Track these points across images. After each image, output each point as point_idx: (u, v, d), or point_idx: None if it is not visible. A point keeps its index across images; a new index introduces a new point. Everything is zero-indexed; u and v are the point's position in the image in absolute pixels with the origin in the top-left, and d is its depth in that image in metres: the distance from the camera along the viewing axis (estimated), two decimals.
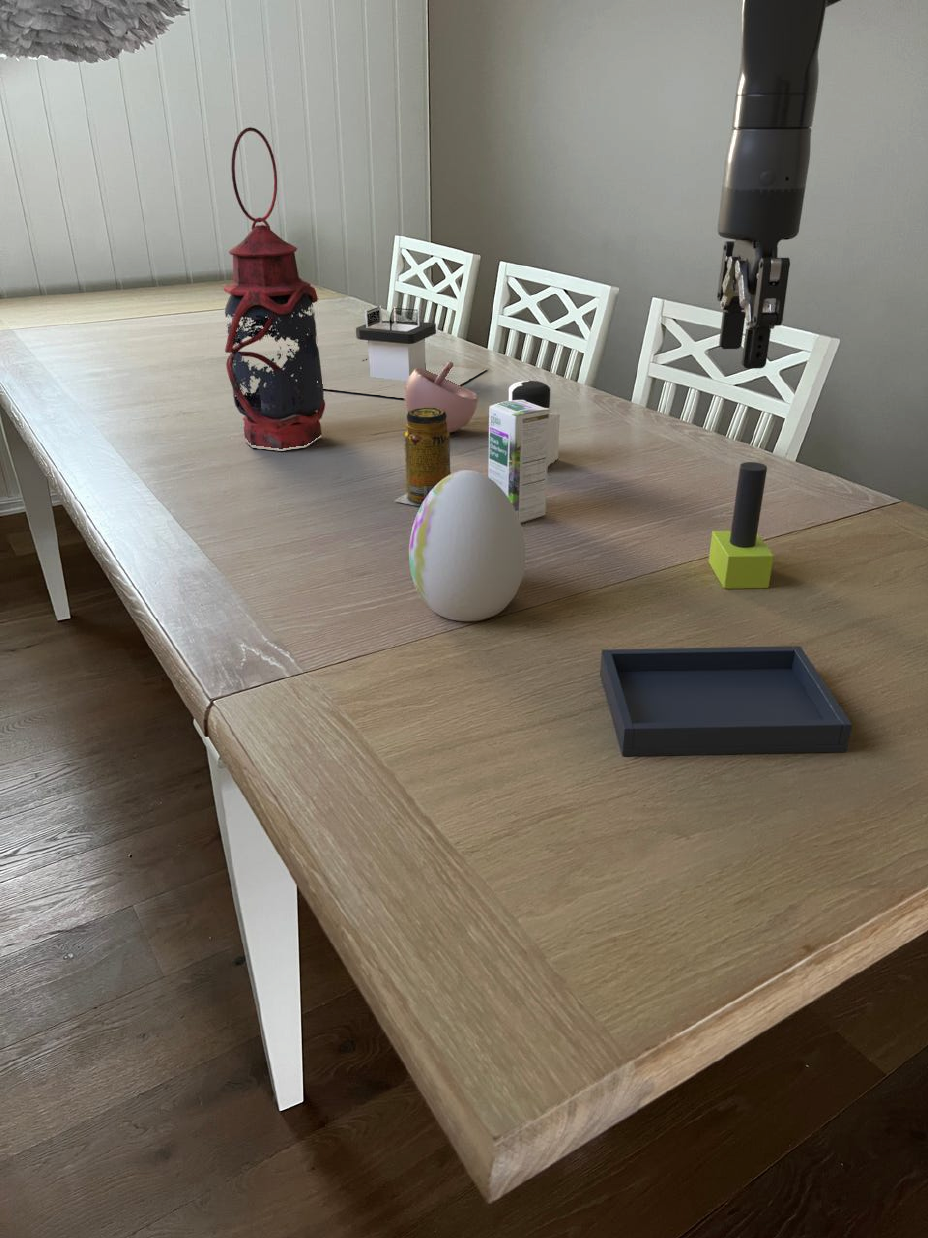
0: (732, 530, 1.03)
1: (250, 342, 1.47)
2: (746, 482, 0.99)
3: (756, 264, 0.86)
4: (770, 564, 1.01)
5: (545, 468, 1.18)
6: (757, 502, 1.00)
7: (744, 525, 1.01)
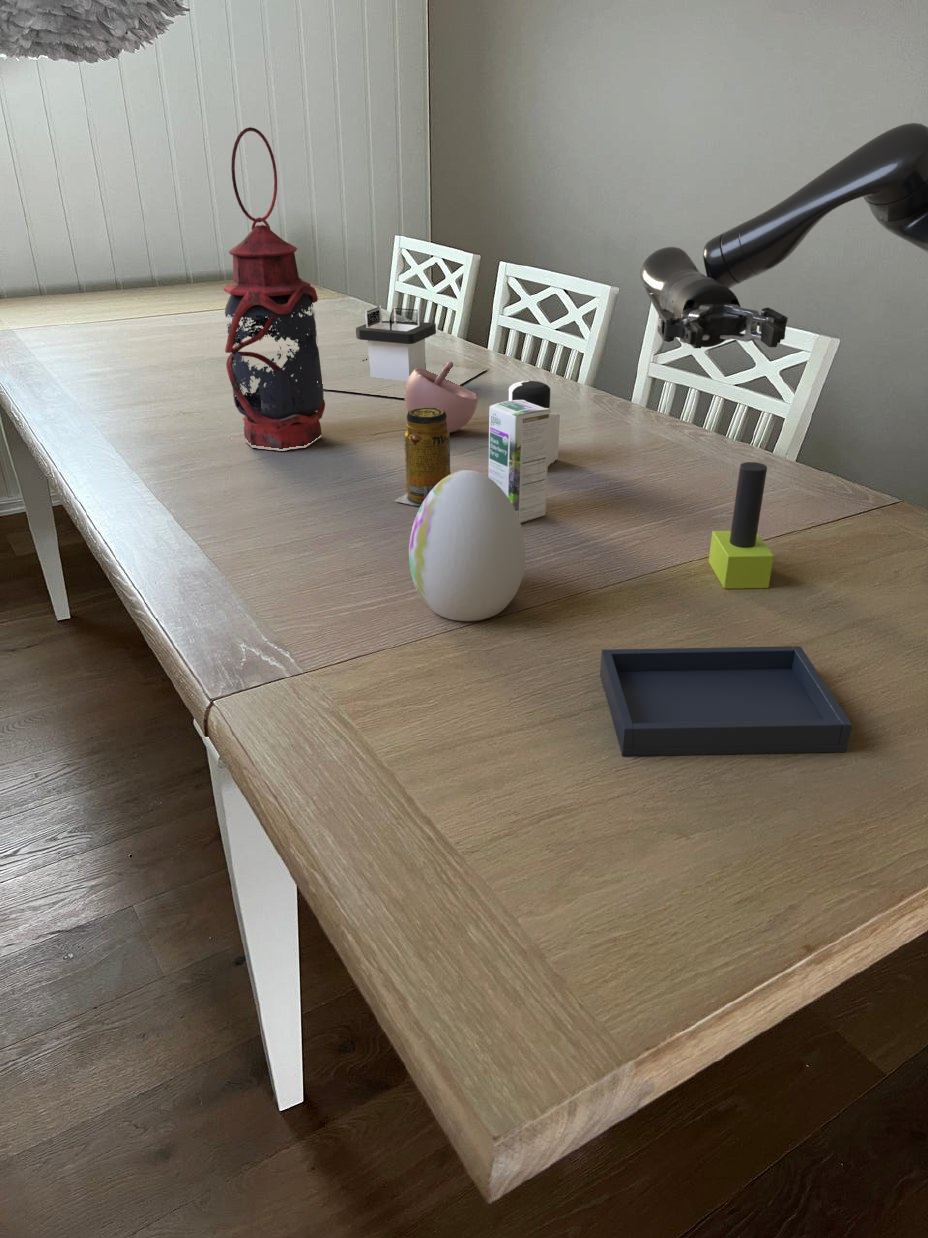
0: (732, 530, 1.03)
1: (250, 342, 1.47)
2: (746, 482, 0.99)
3: None
4: (770, 564, 1.01)
5: (545, 468, 1.18)
6: (757, 502, 1.00)
7: (744, 525, 1.01)
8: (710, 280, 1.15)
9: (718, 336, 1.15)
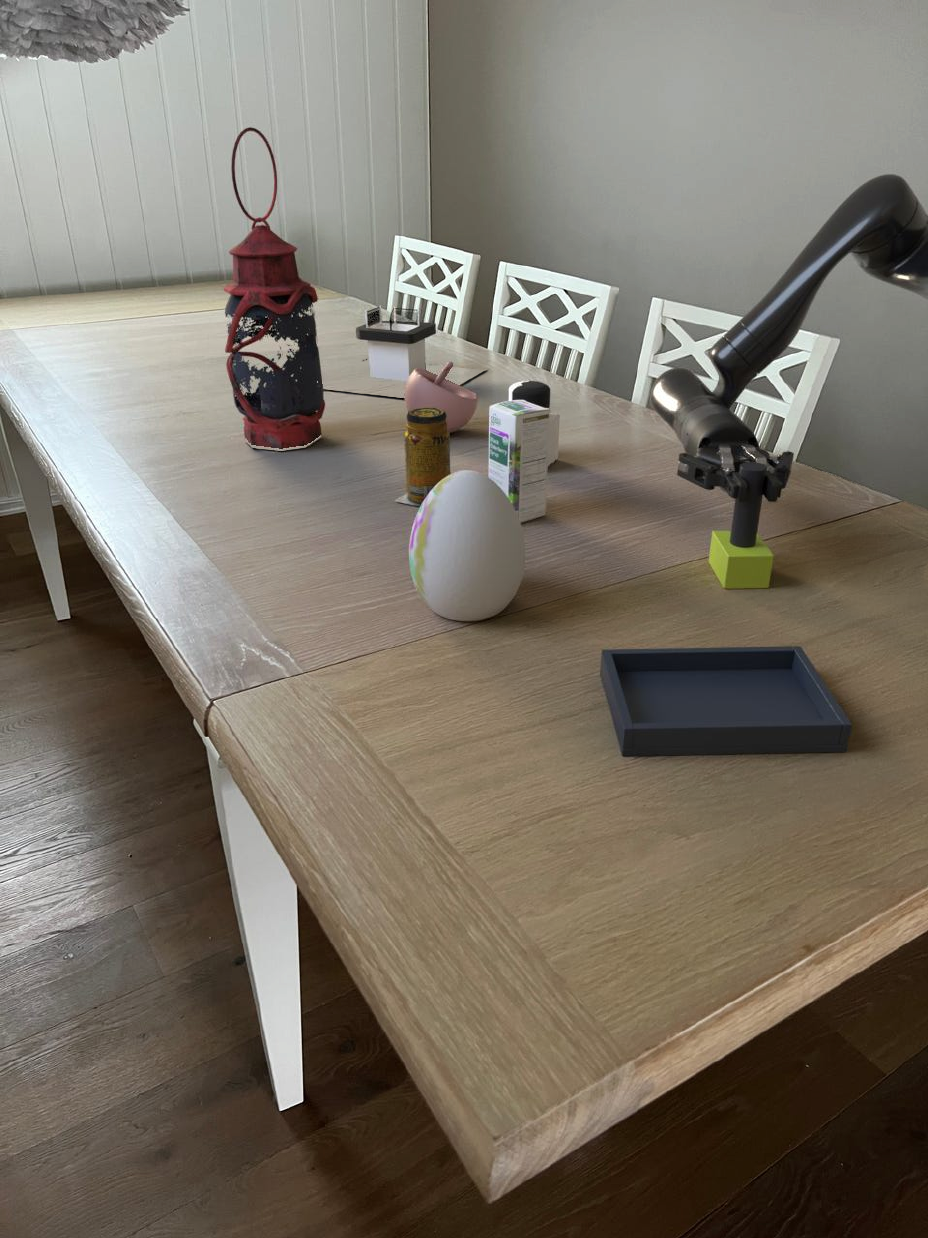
0: (732, 530, 1.03)
1: (250, 342, 1.47)
2: (746, 482, 0.99)
3: None
4: (770, 564, 1.01)
5: (545, 468, 1.18)
6: (757, 502, 1.00)
7: (744, 525, 1.01)
8: (727, 415, 1.10)
9: None
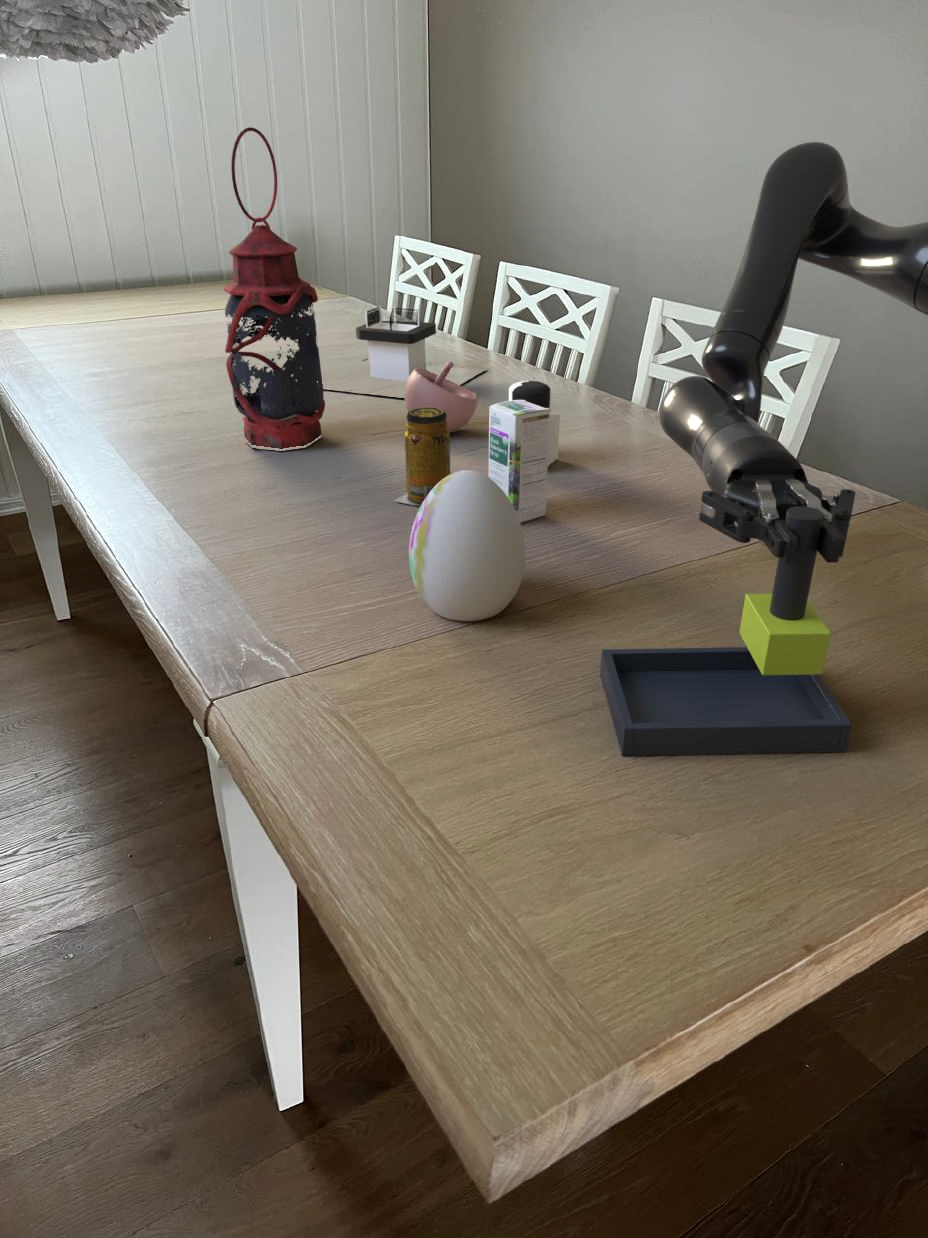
0: (774, 596, 0.76)
1: (250, 342, 1.47)
2: (796, 534, 0.73)
3: None
4: (826, 644, 0.75)
5: (545, 468, 1.18)
6: (809, 561, 0.74)
7: (791, 591, 0.75)
8: (764, 439, 0.83)
9: None
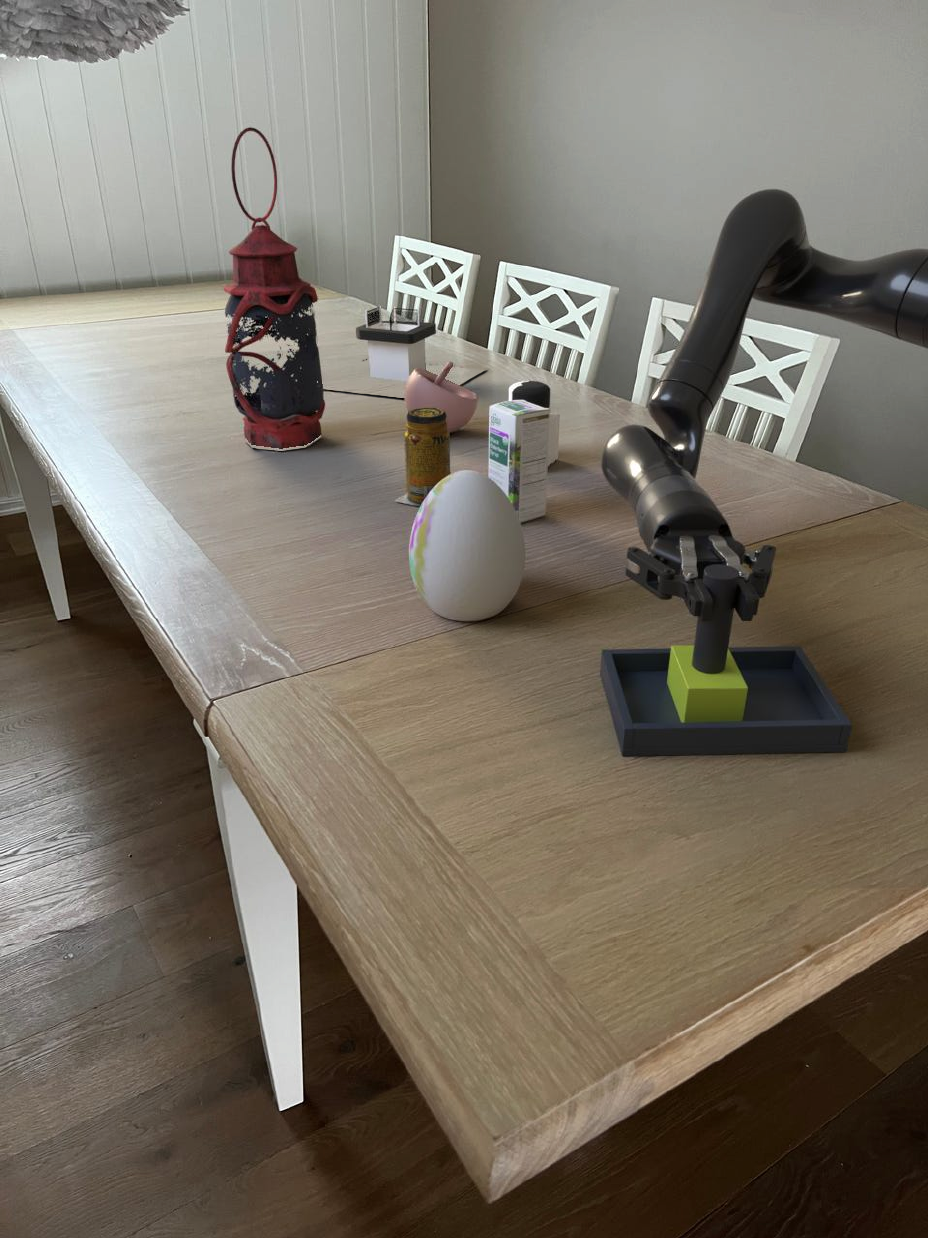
0: (695, 650, 0.79)
1: (250, 342, 1.47)
2: (712, 593, 0.75)
3: None
4: (743, 698, 0.77)
5: (545, 468, 1.18)
6: (726, 618, 0.76)
7: (710, 646, 0.77)
8: (691, 494, 0.86)
9: None
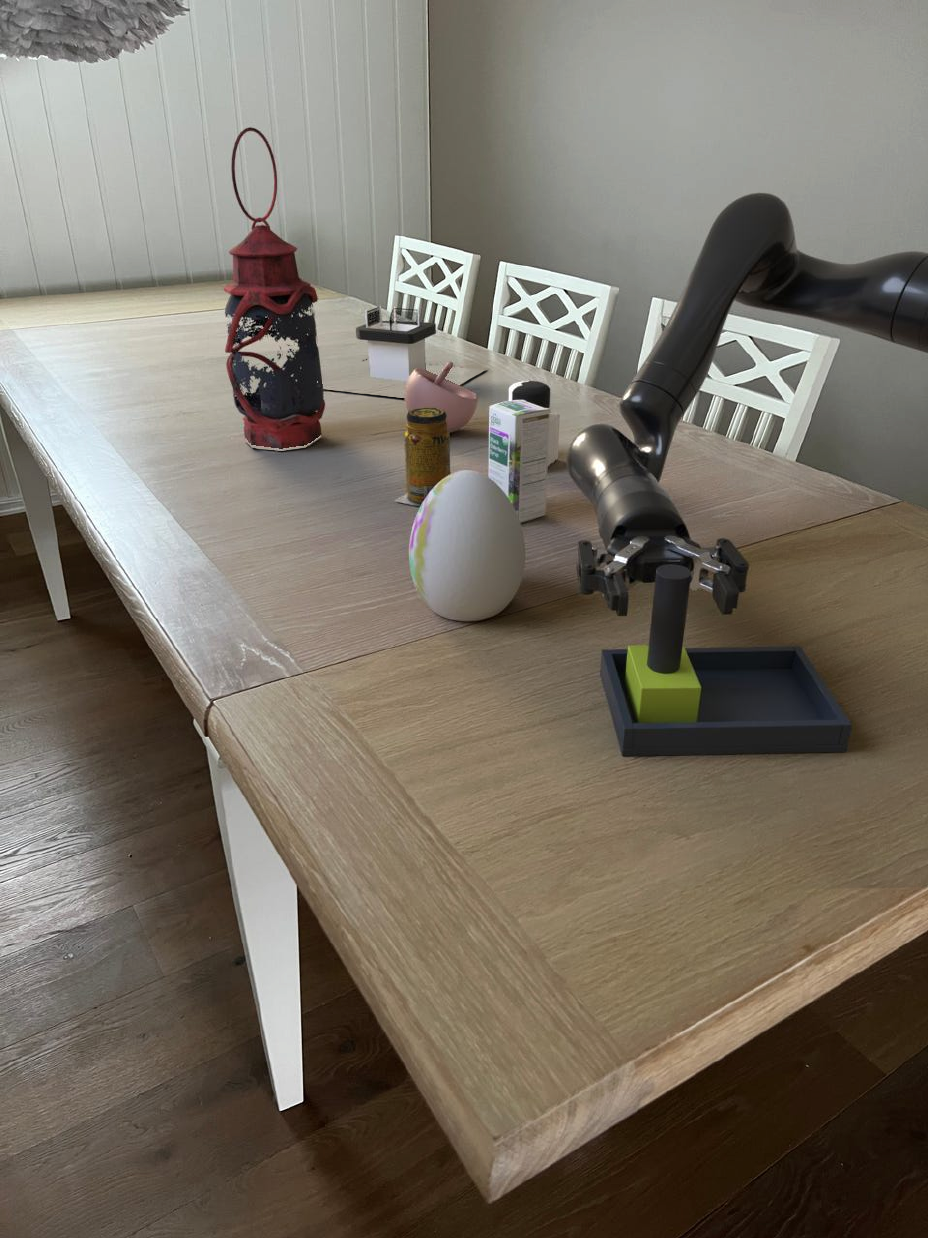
0: (649, 650, 0.79)
1: (250, 342, 1.47)
2: (664, 592, 0.75)
3: None
4: (697, 698, 0.77)
5: (545, 468, 1.18)
6: (678, 618, 0.76)
7: (663, 646, 0.77)
8: (649, 494, 0.86)
9: None
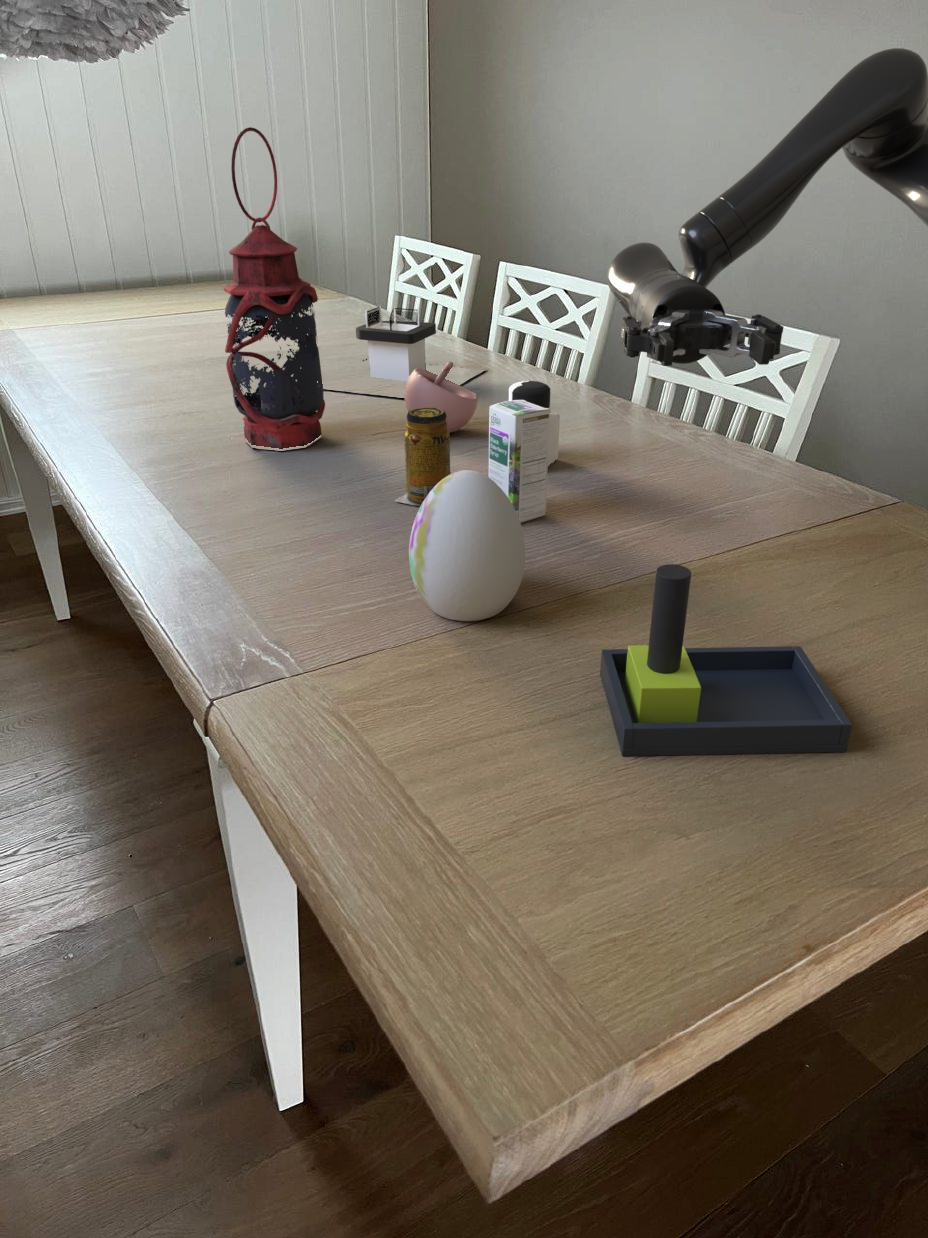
0: (649, 650, 0.79)
1: (250, 342, 1.47)
2: (664, 592, 0.75)
3: None
4: (697, 698, 0.77)
5: (545, 468, 1.18)
6: (678, 618, 0.76)
7: (663, 646, 0.77)
8: (688, 281, 0.92)
9: (697, 350, 0.92)
